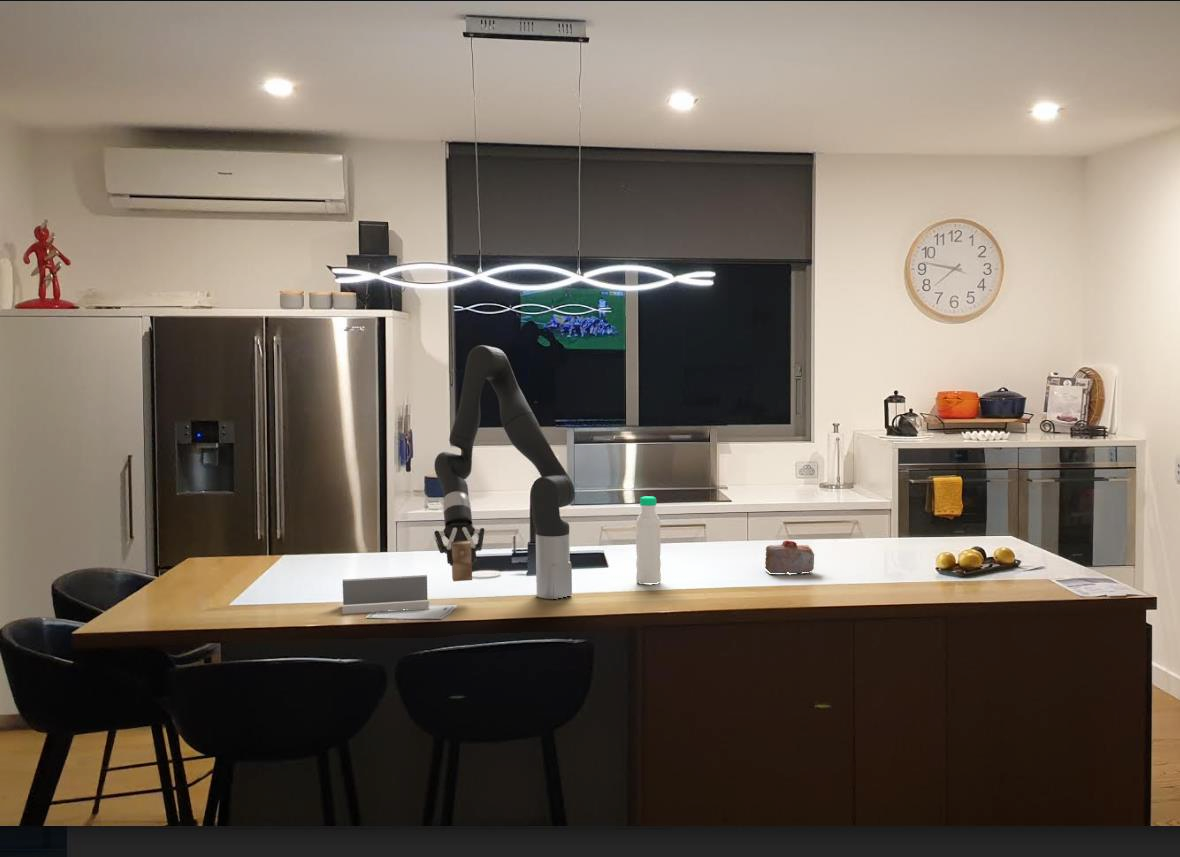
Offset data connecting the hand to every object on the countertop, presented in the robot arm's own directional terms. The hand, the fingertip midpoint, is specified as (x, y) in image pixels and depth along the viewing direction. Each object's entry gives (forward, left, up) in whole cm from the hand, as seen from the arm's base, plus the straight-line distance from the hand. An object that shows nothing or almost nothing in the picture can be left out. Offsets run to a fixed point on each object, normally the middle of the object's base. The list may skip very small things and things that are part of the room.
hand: (462, 563), depth 263 cm
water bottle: (-13, -54, -11) cm, 57 cm away
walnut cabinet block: (+2, -1, -5) cm, 5 cm away
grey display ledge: (+10, +18, -11) cm, 23 cm away
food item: (-30, -95, -11) cm, 100 cm away
